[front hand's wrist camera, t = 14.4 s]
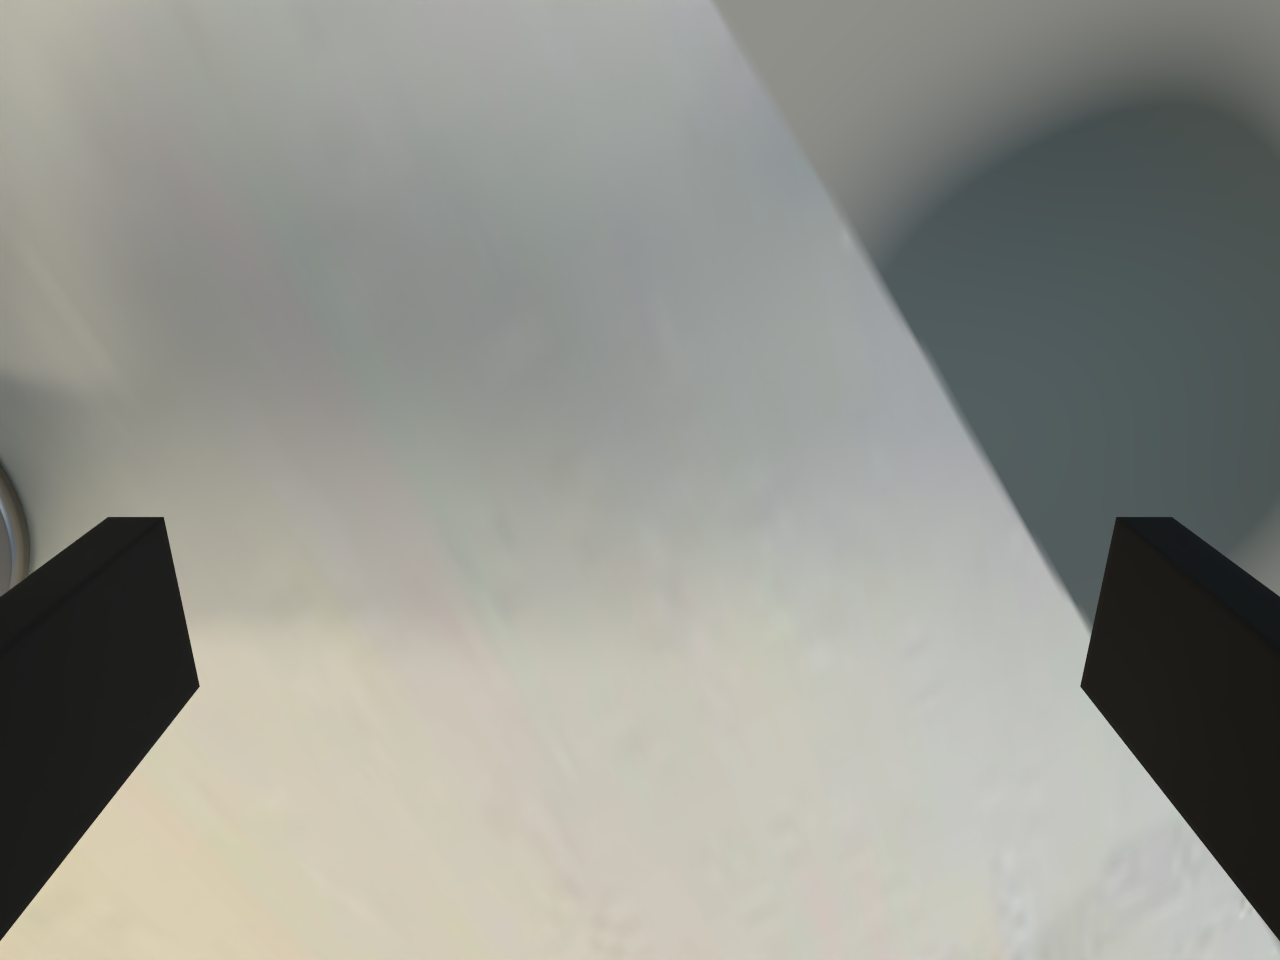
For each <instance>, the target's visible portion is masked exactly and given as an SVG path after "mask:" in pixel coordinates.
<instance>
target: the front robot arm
mask: <svg viewBox="0 0 1280 960" xmlns="http://www.w3.org/2000/svg"><path fill="white" fill-rule="evenodd" d="M29 560H30V544H29V533H28V528H27V523H26V519H25V515H24V512H23V509H22V505H21V503H20V501H19V498H18V496H17V493H16V491H15V489H14V487H13V485H12V483H11V481H10V479H9V477H8V476H7V474H6V472H5V471H4V469H3V468H2V466H1V464H0V941H1V939H2V938H3V937H4V936H5V934H6V933H7V932H8V930H9V929H10V928H11V927H12V925H13V924H14V923H15V921H16V920H17V919H18V918H19V916H20V915H21V914H22V913H23V911H24V910H25V909H26V907H27V906H28V905H29V904H30V902H31V901H32V900H33V898H34V897H35V896H36V895H37V893H38V892H39V891H40V890H41V888H42V887H43V886H44V884H45V883H46V882H47V881H48V879H49V878H50V877H51V876H52V874H53V873H54V872H55V870H56V869H57V868H58V867H59V865H60V864H61V863H62V861H63V860H64V859H65V858H66V856H67V855H68V854H69V853H70V851H71V850H72V849H73V847H74V846H75V845H76V844H77V842H78V841H79V840H80V838H81V837H82V836H83V835H84V833H85V832H86V831H87V830H88V828H89V827H90V826H91V824H92V823H93V822H94V821H95V819H96V818H97V817H98V816H99V814H100V813H101V812H102V810H103V809H104V808H105V807H106V805H107V804H108V803H109V801H110V800H111V799H112V798H113V796H114V795H115V794H116V793H117V791H118V790H119V789H120V787H121V786H122V785H123V784H124V782H125V781H126V780H127V778H128V777H129V776H130V775H131V773H132V772H133V771H134V770H135V768H136V767H137V766H138V764H139V763H140V762H141V761H142V759H143V758H144V757H145V756H146V754H147V753H148V752H149V750H150V749H151V748H152V747H153V745H154V744H155V743H156V741H157V740H158V739H159V738H160V736H161V735H162V734H163V733H164V731H165V730H166V729H167V727H168V726H169V725H170V724H171V722H172V721H173V720H174V719H175V717H176V716H177V715H178V713H179V712H180V711H181V710H182V708H183V707H184V706H185V704H186V703H187V702H188V701H189V699H190V698H191V697H192V696H193V694H194V693H195V692H196V690H197V689H198V688H199V687H200V686H199V681H198V677H197V672H196V667H195V662H194V658H193V653H192V648H191V644H190V639H189V634H188V629H187V625H186V620H185V615H184V611H183V606H182V601H181V597H180V592H179V587H178V582H177V578H176V573H175V568H174V564H173V559H172V554H171V549H170V545H169V540H168V535H167V531H166V526H165V521H164V517H108V518H106V519H105V520H104V521H102V522H101V523H100V524H98V525H97V526H95V527H94V528H93V529H91V530H90V531H89V532H87V533H86V534H85V535H83V536H82V537H81V538H79V539H78V540H76V541H75V542H74V543H72V544H71V545H70V546H68V547H67V548H66V549H64V550H63V551H62V552H60V553H59V554H58V555H56V556H55V557H53V558H52V559H51V560H49V561H48V562H47V563H45V564H44V565H43V566H41V567H40V568H39V569H37V570H36V571H35V572H33V573H32V574H30V575H29V576H28V577H27V575H28V568H29ZM1080 687H1081V688H1082V689H1083V690H1084V692H1085V693H1086V694H1087V696H1088V697H1089V698H1090V699H1091V701H1092V702H1093V703H1094V704H1095V706H1096V707H1097V708H1098V710H1099V711H1100V712H1101V713H1102V715H1103V716H1104V717H1105V719H1106V720H1107V721H1108V722H1109V724H1110V725H1111V726H1112V727H1113V729H1114V730H1115V731H1116V733H1117V734H1118V735H1119V736H1120V738H1121V739H1122V740H1123V741H1124V743H1125V744H1126V745H1127V747H1128V748H1129V749H1130V750H1131V752H1132V753H1133V754H1134V756H1135V757H1136V758H1137V759H1138V761H1139V762H1140V763H1141V764H1142V766H1143V767H1144V768H1145V770H1146V771H1147V772H1148V773H1149V775H1150V776H1151V777H1152V779H1153V780H1154V781H1155V782H1156V784H1157V785H1158V786H1159V787H1160V789H1161V790H1162V791H1163V793H1164V794H1165V795H1166V796H1167V798H1168V799H1169V800H1170V801H1171V803H1172V804H1173V805H1174V807H1175V808H1176V809H1177V810H1178V812H1179V813H1180V814H1181V816H1182V817H1183V818H1184V819H1185V821H1186V822H1187V823H1188V824H1189V826H1190V827H1191V828H1192V830H1193V831H1194V832H1195V833H1196V835H1197V836H1198V837H1199V838H1200V840H1201V841H1202V842H1203V844H1204V845H1205V846H1206V847H1207V849H1208V850H1209V851H1210V853H1211V854H1212V855H1213V856H1214V858H1215V859H1216V860H1217V861H1218V863H1219V864H1220V865H1221V867H1222V868H1223V869H1224V870H1225V872H1226V873H1227V874H1228V876H1229V877H1230V878H1231V879H1232V881H1233V882H1234V883H1235V884H1236V886H1237V887H1238V888H1239V890H1240V891H1241V892H1242V893H1243V895H1244V896H1245V897H1246V898H1247V900H1248V901H1249V902H1250V904H1251V905H1252V906H1253V907H1254V909H1255V910H1256V911H1257V913H1258V914H1259V915H1260V916H1261V918H1262V919H1263V920H1264V921H1265V923H1266V924H1267V925H1268V927H1269V928H1270V929H1271V930H1272V932H1273V933H1274V934H1275V936H1276V937H1277V938H1278V939H1279V941H1280V597H1279V596H1278V595H1277V594H1275V593H1274V592H1273V591H1271V590H1270V589H1268V588H1267V587H1266V586H1264V585H1263V584H1262V583H1260V582H1259V581H1258V580H1256V579H1255V578H1253V577H1252V576H1251V575H1249V574H1248V573H1247V572H1245V571H1244V570H1243V569H1241V568H1240V567H1239V566H1237V565H1236V564H1235V563H1233V562H1232V561H1231V560H1229V559H1228V558H1227V557H1225V556H1224V555H1222V554H1221V553H1220V552H1218V551H1217V550H1216V549H1214V548H1213V547H1212V546H1210V545H1209V544H1208V543H1206V542H1205V541H1203V540H1202V539H1201V538H1199V537H1198V536H1197V535H1195V534H1194V533H1193V532H1191V531H1190V530H1189V529H1187V528H1186V527H1185V526H1183V525H1182V524H1180V523H1179V522H1178V521H1176V520H1175V519H1174V518H1172V517H1116V521H1115V526H1114V531H1113V535H1112V540H1111V545H1110V549H1109V554H1108V559H1107V564H1106V568H1105V573H1104V578H1103V582H1102V587H1101V592H1100V597H1099V601H1098V606H1097V611H1096V615H1095V620H1094V625H1093V629H1092V634H1091V639H1090V644H1089V648H1088V653H1087V658H1086V662H1085V667H1084V672H1083V677H1082V681H1081V686H1080Z"/></svg>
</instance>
